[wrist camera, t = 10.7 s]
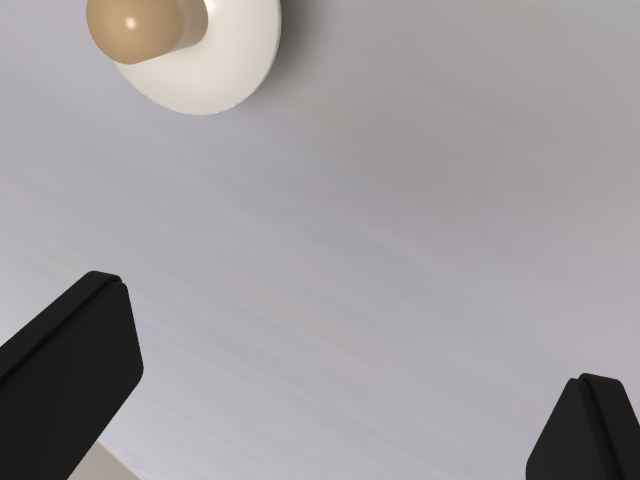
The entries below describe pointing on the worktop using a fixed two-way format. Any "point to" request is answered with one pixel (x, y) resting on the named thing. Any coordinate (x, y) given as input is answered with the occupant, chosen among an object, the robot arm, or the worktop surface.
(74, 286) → the robot arm
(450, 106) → the worktop surface
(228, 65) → the lid
